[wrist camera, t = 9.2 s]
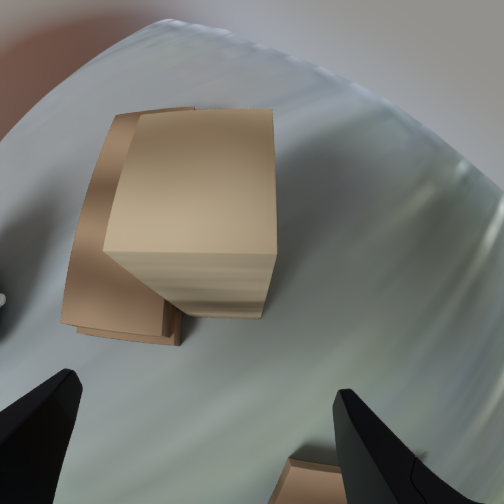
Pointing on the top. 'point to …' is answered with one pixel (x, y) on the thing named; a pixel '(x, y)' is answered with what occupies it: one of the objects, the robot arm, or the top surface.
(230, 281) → the upright offcut
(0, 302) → the figurine
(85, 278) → the plank stack
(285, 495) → the loose offcut
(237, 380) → the top surface
